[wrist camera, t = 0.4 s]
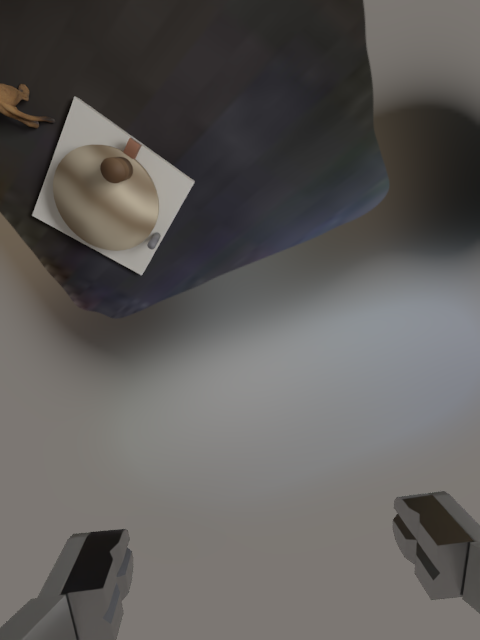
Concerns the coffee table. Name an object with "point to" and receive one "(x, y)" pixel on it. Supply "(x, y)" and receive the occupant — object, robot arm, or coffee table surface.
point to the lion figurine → (9, 97)
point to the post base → (168, 180)
